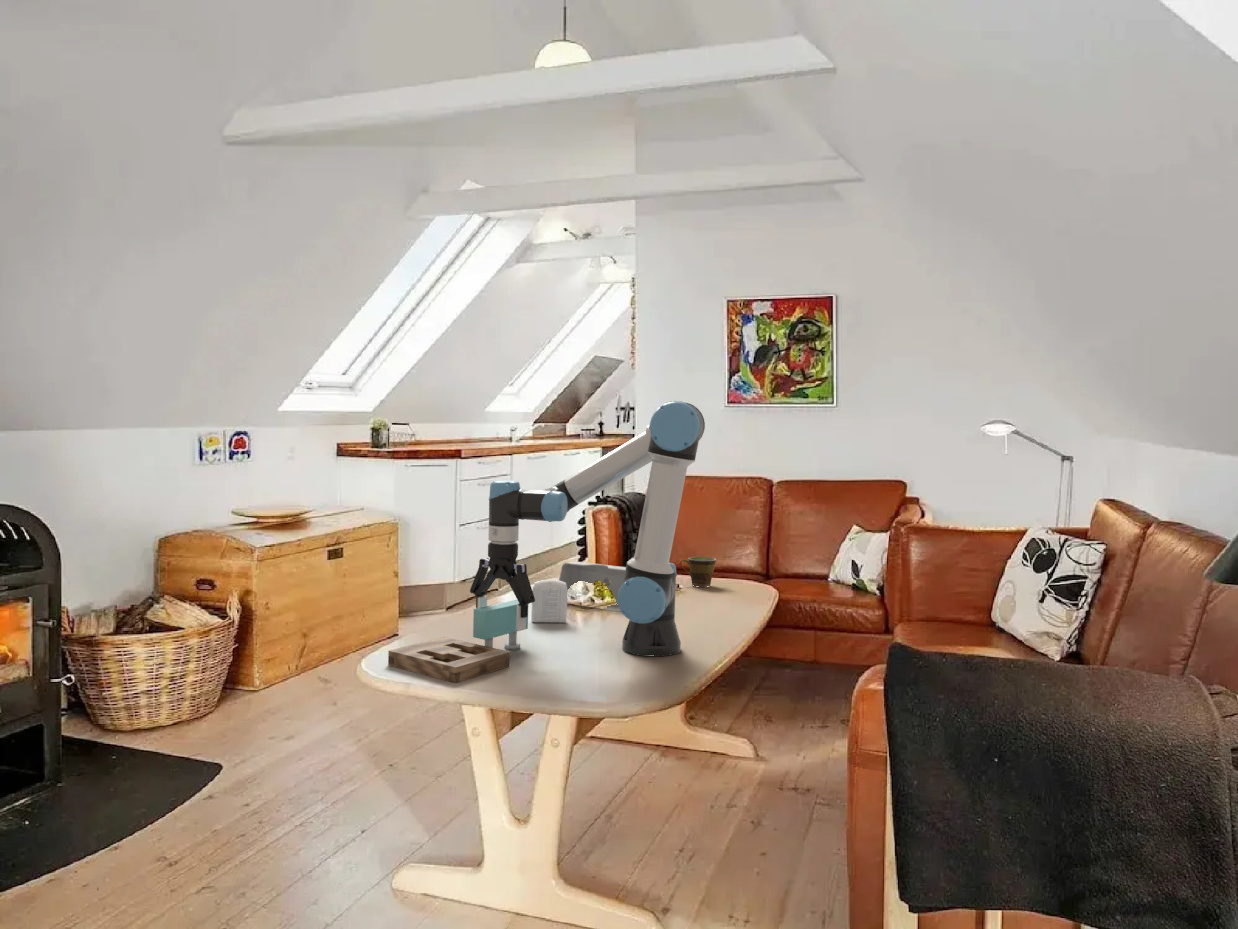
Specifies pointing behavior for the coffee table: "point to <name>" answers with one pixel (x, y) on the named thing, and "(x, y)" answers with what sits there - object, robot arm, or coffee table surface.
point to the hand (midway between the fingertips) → (501, 626)
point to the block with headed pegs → (497, 623)
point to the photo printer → (549, 601)
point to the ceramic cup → (700, 570)
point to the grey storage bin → (594, 576)
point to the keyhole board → (449, 659)
